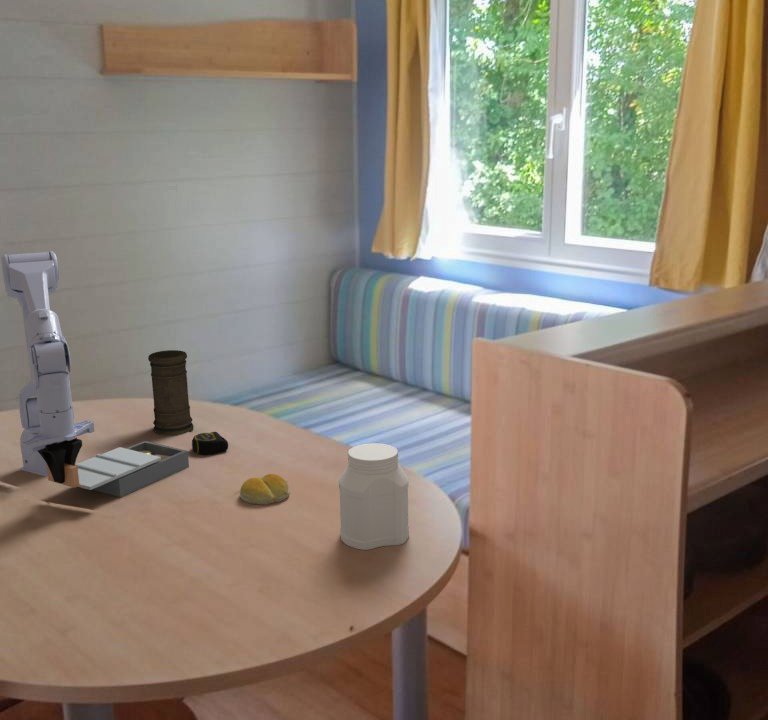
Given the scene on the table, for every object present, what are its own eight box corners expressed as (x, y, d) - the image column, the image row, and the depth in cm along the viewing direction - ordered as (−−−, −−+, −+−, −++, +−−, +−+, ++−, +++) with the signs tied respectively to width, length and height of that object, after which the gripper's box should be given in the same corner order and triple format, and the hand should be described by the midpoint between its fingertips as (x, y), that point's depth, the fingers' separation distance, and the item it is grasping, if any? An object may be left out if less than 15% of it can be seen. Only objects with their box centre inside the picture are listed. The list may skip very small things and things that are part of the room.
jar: (349, 553, 151) (346, 465, 147) (334, 529, 160) (331, 446, 156) (416, 542, 154) (415, 456, 151) (398, 519, 163) (397, 438, 159)
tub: (77, 487, 180) (75, 468, 179) (146, 459, 195) (145, 440, 194) (121, 500, 174) (119, 480, 173) (189, 469, 188) (187, 450, 187)
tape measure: (229, 455, 197) (228, 438, 196) (198, 460, 194) (197, 443, 193) (219, 445, 203) (218, 429, 202) (188, 450, 199) (187, 434, 198)
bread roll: (235, 494, 176) (234, 474, 175) (280, 485, 180) (279, 466, 179) (248, 510, 169) (246, 489, 168) (295, 500, 172) (294, 480, 171)
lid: (40, 481, 172) (38, 459, 171) (120, 449, 188) (118, 430, 187) (82, 493, 166) (80, 471, 165) (161, 459, 182) (159, 439, 181)
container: (184, 438, 207) (178, 359, 202) (146, 436, 208) (139, 358, 204) (200, 425, 215) (194, 349, 211) (163, 423, 217) (157, 348, 212)
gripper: (36, 423, 158) (44, 498, 161) (102, 401, 170) (109, 471, 173) (9, 417, 161) (18, 490, 165) (76, 395, 173) (83, 464, 177)
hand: (63, 480), depth 169 cm, fingers closed on lid
